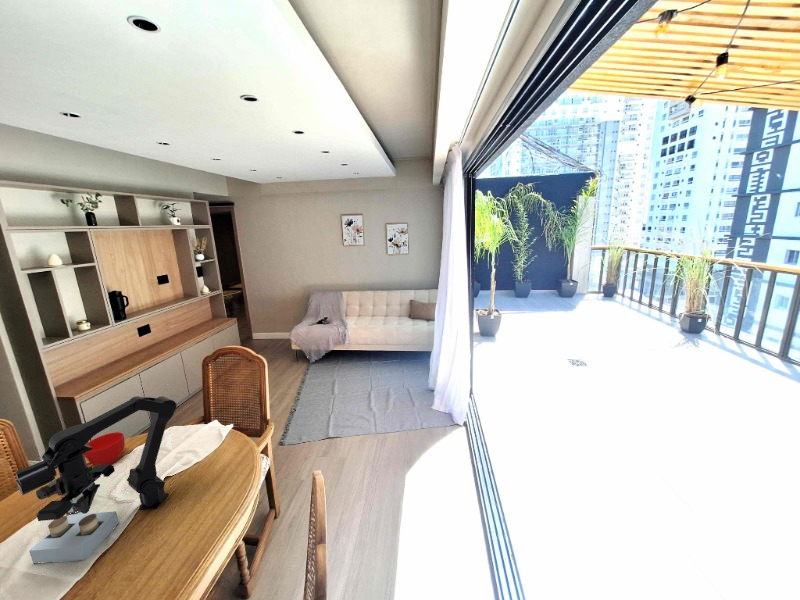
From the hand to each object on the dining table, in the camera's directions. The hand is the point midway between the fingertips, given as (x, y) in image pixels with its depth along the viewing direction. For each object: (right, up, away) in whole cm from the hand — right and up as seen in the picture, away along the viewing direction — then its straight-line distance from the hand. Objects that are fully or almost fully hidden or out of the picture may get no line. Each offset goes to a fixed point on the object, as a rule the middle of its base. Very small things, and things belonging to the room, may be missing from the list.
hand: (85, 512), depth 95 cm
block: (-4, -11, +2) cm, 12 cm away
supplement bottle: (-18, -9, +15) cm, 25 cm away
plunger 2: (0, -7, +1) cm, 8 cm away
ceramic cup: (-31, -5, +37) cm, 48 cm away
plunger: (-9, -8, +1) cm, 12 cm away
